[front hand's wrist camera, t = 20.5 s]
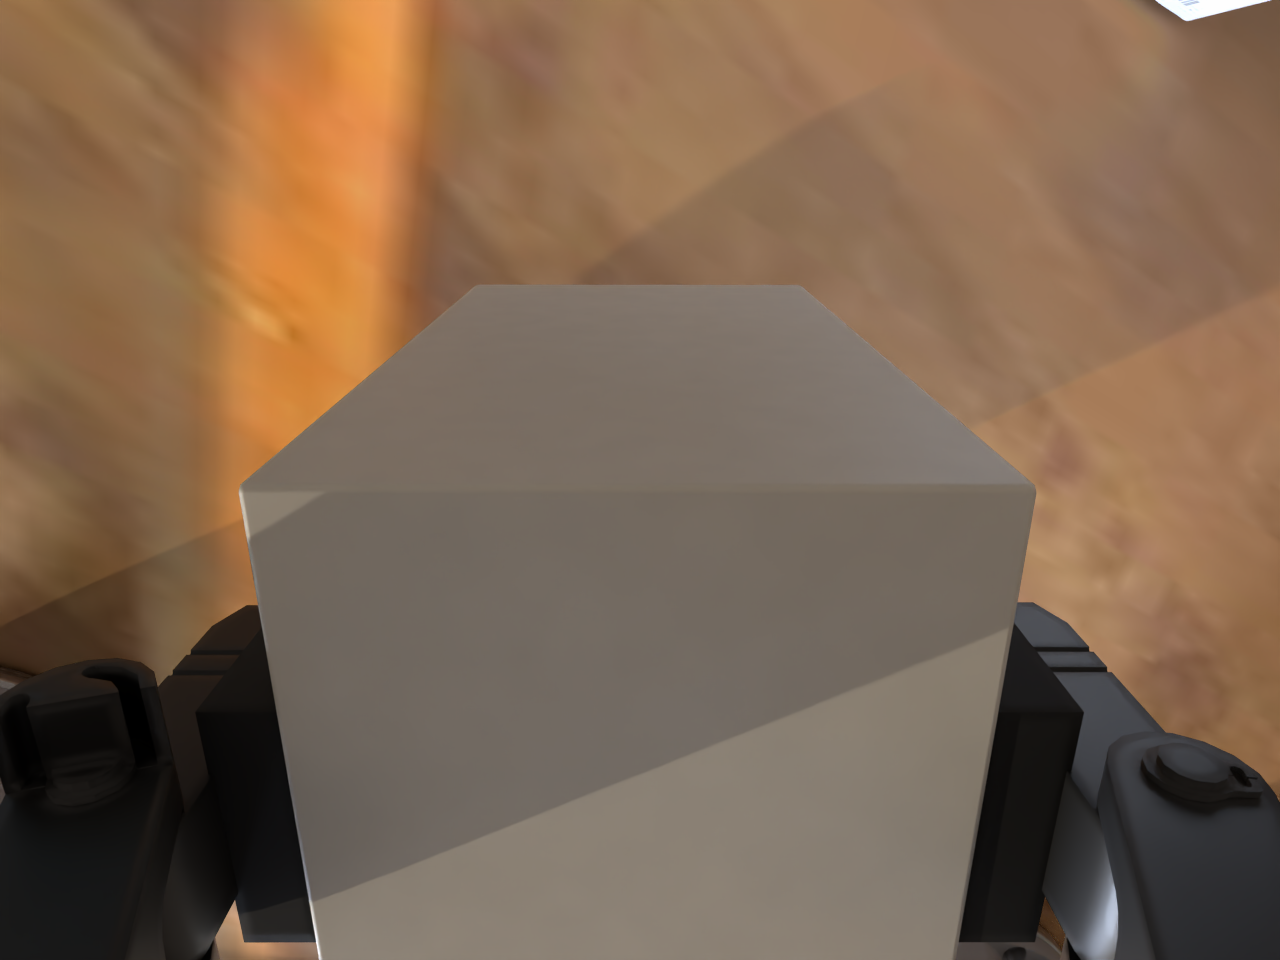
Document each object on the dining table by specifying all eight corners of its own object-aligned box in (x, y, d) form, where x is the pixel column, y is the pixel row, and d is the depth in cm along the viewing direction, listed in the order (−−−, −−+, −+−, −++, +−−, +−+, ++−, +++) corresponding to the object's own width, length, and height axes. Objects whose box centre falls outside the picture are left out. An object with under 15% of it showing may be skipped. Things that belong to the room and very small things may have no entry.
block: (780, 605, 19) (933, 1099, 9) (495, 604, 19) (340, 1099, 9) (801, 284, 17) (1041, 485, 7) (474, 284, 17) (233, 485, 7)
